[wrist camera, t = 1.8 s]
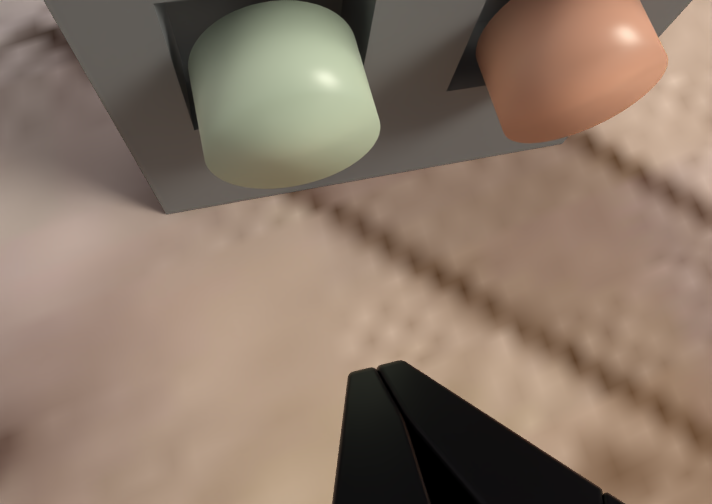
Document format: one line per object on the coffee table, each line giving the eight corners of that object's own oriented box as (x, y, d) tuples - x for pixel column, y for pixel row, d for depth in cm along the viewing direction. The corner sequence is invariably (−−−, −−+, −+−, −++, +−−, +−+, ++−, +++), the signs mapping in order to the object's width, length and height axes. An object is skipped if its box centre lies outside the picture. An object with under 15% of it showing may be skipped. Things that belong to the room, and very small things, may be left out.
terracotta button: (608, 130, 17) (706, 34, 13) (481, 152, 17) (544, 58, 12) (580, 66, 18) (665, -45, 14) (457, 84, 17) (508, -27, 13)
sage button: (368, 173, 16) (394, 79, 12) (217, 199, 15) (188, 110, 11) (348, 100, 17) (365, -11, 13) (203, 123, 16) (170, 12, 12)
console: (561, 143, 24) (800, -119, 13) (166, 214, 21) (16, -48, 10) (531, 68, 25) (725, -234, 14) (152, 125, 22) (4, -201, 11)
